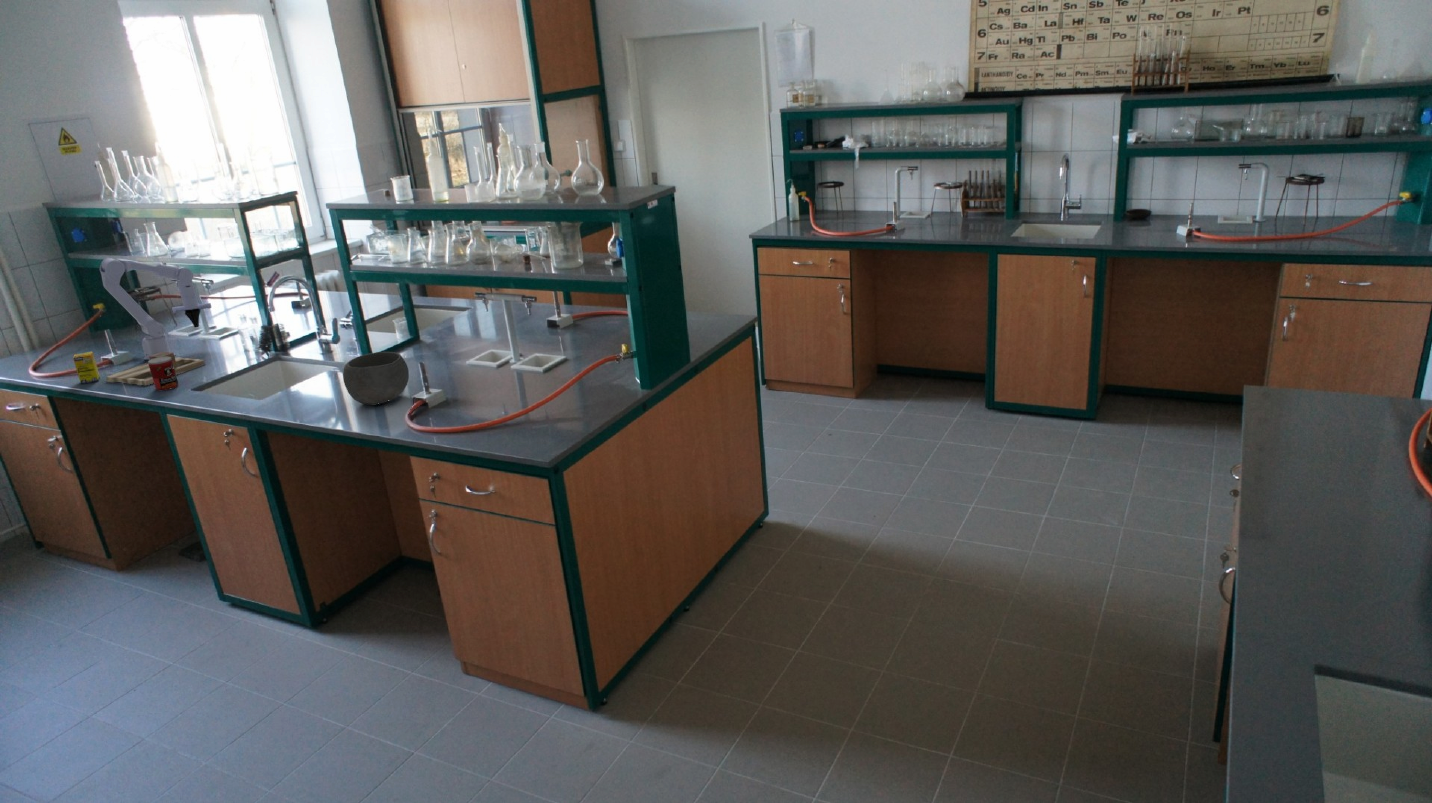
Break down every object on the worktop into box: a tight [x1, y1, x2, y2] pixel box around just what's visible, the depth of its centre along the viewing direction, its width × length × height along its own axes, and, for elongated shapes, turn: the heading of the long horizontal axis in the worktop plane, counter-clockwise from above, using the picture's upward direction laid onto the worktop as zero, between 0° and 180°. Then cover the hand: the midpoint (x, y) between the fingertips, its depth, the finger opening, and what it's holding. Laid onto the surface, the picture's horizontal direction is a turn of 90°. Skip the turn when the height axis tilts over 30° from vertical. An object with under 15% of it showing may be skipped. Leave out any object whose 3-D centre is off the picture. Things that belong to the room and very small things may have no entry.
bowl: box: [342, 351, 410, 406], centre depth 316 cm, size 21×21×15 cm
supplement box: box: [72, 351, 101, 385], centre depth 359 cm, size 6×6×11 cm
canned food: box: [147, 356, 179, 391], centre depth 346 cm, size 8×8×11 cm
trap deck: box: [105, 356, 206, 386], centre depth 365 cm, size 22×26×2 cm
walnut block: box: [149, 351, 177, 368], centre depth 362 cm, size 6×6×6 cm
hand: (196, 326), depth 394 cm, fingers closed
